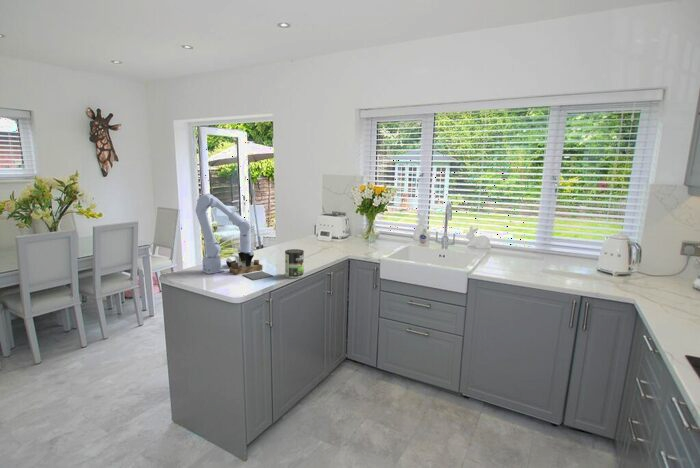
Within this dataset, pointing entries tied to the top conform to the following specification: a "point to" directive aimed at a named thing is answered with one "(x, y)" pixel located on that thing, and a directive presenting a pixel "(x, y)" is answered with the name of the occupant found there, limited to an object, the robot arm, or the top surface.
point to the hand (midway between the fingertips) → (246, 265)
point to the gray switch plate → (257, 275)
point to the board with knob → (238, 270)
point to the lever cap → (243, 264)
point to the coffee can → (294, 263)
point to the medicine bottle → (233, 259)
